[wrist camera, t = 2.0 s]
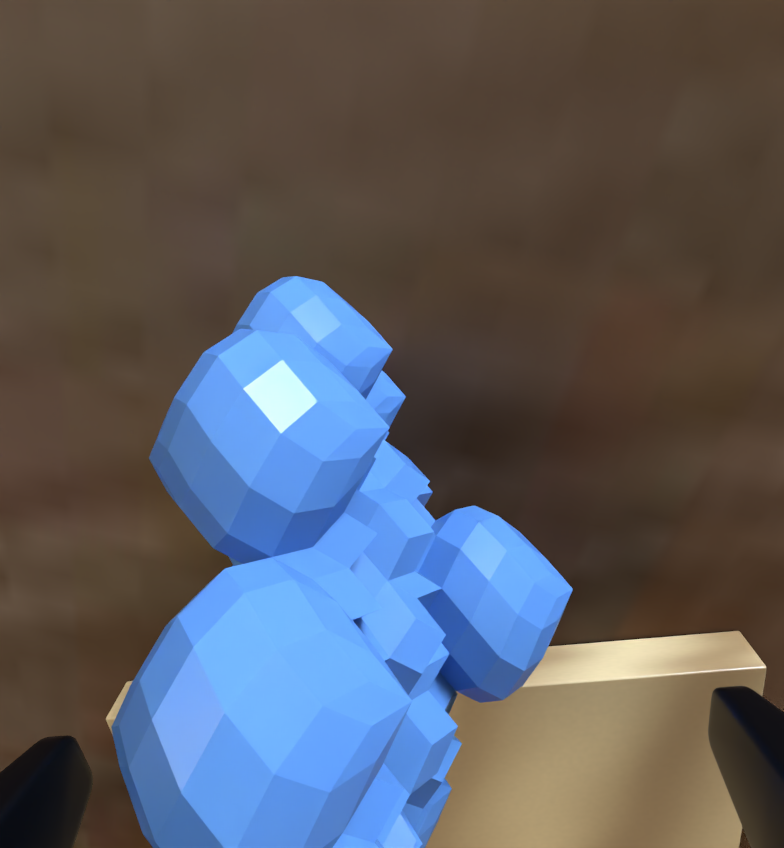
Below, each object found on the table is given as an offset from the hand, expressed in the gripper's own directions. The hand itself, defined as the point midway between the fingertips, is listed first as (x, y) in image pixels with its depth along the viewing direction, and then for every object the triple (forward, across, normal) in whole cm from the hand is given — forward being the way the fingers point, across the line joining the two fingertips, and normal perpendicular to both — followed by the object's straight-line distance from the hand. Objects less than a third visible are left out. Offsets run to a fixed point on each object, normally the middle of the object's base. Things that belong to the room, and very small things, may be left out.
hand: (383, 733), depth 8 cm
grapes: (+9, 0, 0) cm, 9 cm away
